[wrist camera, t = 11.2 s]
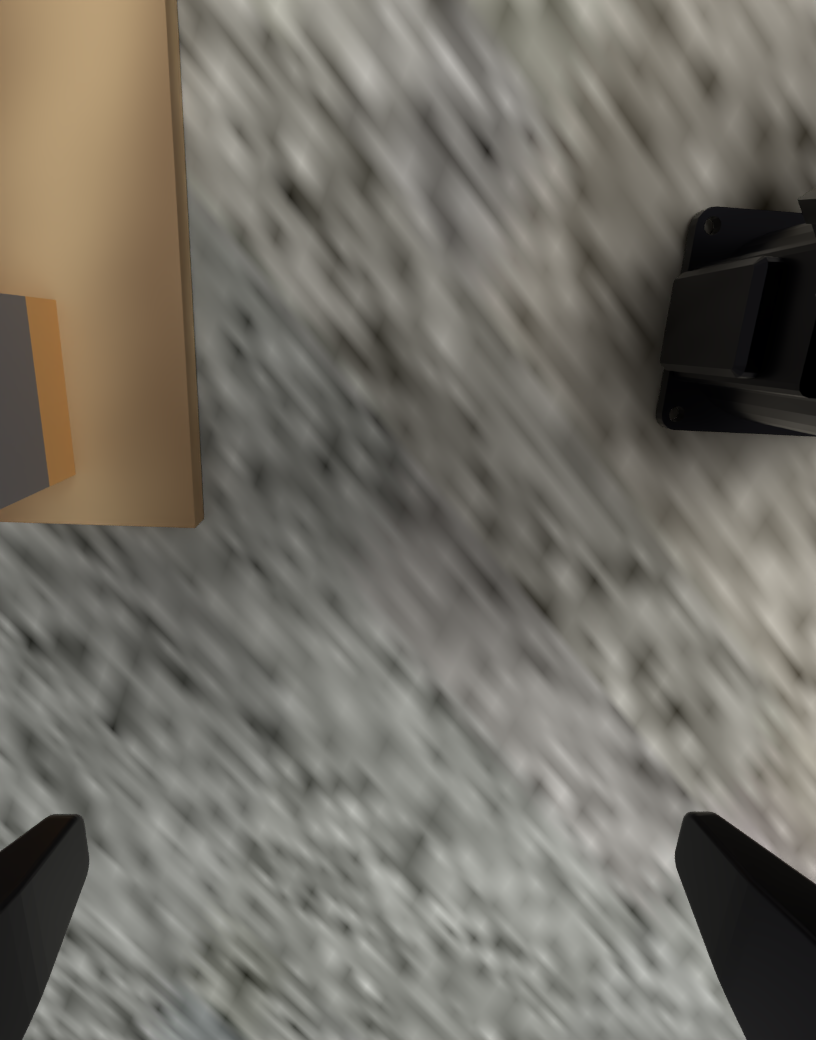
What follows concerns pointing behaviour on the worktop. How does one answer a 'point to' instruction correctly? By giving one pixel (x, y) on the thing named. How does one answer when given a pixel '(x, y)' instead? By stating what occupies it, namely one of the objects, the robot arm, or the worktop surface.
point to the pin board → (105, 249)
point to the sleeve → (32, 399)
